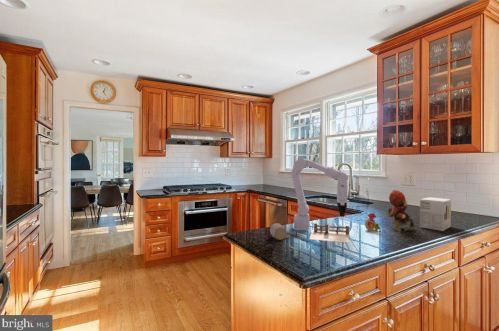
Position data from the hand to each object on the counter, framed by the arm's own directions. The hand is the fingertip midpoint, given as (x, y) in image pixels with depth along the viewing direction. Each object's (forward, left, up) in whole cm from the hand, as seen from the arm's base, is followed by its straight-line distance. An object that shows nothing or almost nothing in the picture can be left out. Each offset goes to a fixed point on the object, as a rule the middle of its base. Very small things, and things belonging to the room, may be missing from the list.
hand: (342, 215), depth 159 cm
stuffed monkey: (+36, +18, -10) cm, 41 cm away
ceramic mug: (-32, -23, -10) cm, 41 cm away
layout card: (-7, -12, -10) cm, 17 cm away
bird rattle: (+18, +10, -10) cm, 22 cm away
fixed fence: (-12, -6, -9) cm, 16 cm away
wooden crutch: (-2, -6, -9) cm, 11 cm away
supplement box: (+58, +32, -10) cm, 66 cm away
